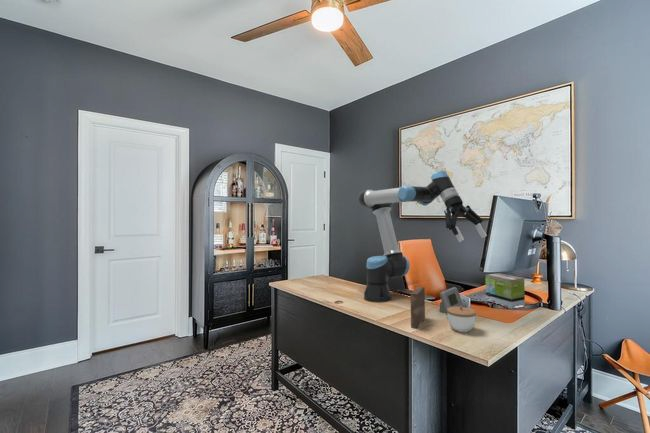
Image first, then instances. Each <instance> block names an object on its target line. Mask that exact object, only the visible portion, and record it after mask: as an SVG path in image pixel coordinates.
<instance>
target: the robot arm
mask: <svg viewBox="0 0 650 433" xmlns="http://www.w3.org/2000/svg"><path fill="white" fill-rule="evenodd" d="M430 179H431V182H429V183H428V185H427V186H413V185H402V186H400V187H394V188H386V189H364V190H362V191H360V192H359V193H358V196H357V202H358V204H359V206H361V207H362V208H363V209H369V210H370V209H371V210H372V214H373V215H374V216H376V217H375V218H376V222H377V226H378V231H379V235H380V239H381V245H382V247H383V248H382V249H383V253H384V254H383V255H375V256H371V257H368V258H367V260H366V286H365V289H364V290H365V291H364V292H363V299H364V300H366V301H368V302H374V303H375V302H376V303H383V302H389V301H391V300H392V292H391V290H390V288H389V283H388V282H389V279H394V278H401V277H404V276H406V275H407V274H408V273H409V270H410V261H409V259H408V257H406V256H404V254H403V252H402V251H401V250H400V249H399V246H398V241H397V237H396V233H395V228H394V225H393V220H392V217H391V211H392V206H393V205H394V204H395V203H406V202H407V203H409V202H418V203H419V204H420V205H421V206H428V205H429V204H431V203H433V201H435V200H436V199H437V198H438V197H439V196H440V198H441V200H442V202H443V203H444V206H445V209H444V210H443V212H444V214H445V215H444V216H445V228H446V229H448V230H449V231H452V233H453V235H454V236H455V237H456V239H457V241H458V243H461V242H462V241H464V240H465V238H464V236H463V235H462V234H463V233H462V232H461V231H460V228H459V227H458V226H456V225H457V220H458V218H465V219H466V220H468V221H469V222H471V223H472V224H474V225H475V226H474V228H475V229H476V231H477V232H478V234H479V236H480V238H481V239H484V238H486V237H487V236H488V235H487V233H486V231H485V228H484V227H483V225H482V223H483V222H484V219H482V218H481V216H480V215H478V214H477V213H476V212H475V211H474V210H473V209H472V208H471V206H470V205H469V204H467V205H466V206H464V204H463V203H464V202H463V200H462V198H461V196H460V195H459V192H458V191H457V189H456V187H455V186H454V184H453V182H452V179H450V176H449V174H448V173H447V172H446V171H445V170H442V169H439V170H436V171H435V172H433V173H432V174H431V176H430Z"/></svg>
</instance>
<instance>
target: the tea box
mask: <svg viewBox="0 0 650 433" xmlns="http://www.w3.org/2000/svg"><path fill="white" fill-rule="evenodd" d="M484 277H485V279H484V280H485V299H486V298H489V299H491V300H492V301H493V302H494V303H496V304H495V305H497V304H503V305H507V306H508V308H507V309H510V310H514V307H515V306H519V305H526V304H525V302H526V300H525V297H526V296H525V292H526V291H525V285H526V284H525V277H520V276H516V275H510V274H504V273H499V272H498V273H497V272H496V273H490V274H485V276H484Z"/></svg>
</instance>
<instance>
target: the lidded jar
mask: <svg viewBox="0 0 650 433" xmlns="http://www.w3.org/2000/svg"><path fill="white" fill-rule="evenodd" d="M446 315H447V320H448V323H449V325H450V326H451V327H452V328H453V330H454V331H455V332H459V333H468V332H470V331H471V330H472V329H473V328H474V326H475V325H476V315H477V312H476V310H475V309H473V308H470V307H465V306H464V307H462V306H460V307H449V308H447V314H446Z"/></svg>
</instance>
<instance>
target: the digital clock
mask: <svg viewBox="0 0 650 433" xmlns="http://www.w3.org/2000/svg"><path fill="white" fill-rule="evenodd" d="M439 298H440V300H441V302H439V312H440V313H441V314H446V315H447V308H449V307H460V306H462V307H463V306H464V304H463V300H462V297H461V296H460V291H459V289H458V288H457V287H456V286H453V287H449V288H447V289H445V290H442V291H441V292H440V293H439Z"/></svg>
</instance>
